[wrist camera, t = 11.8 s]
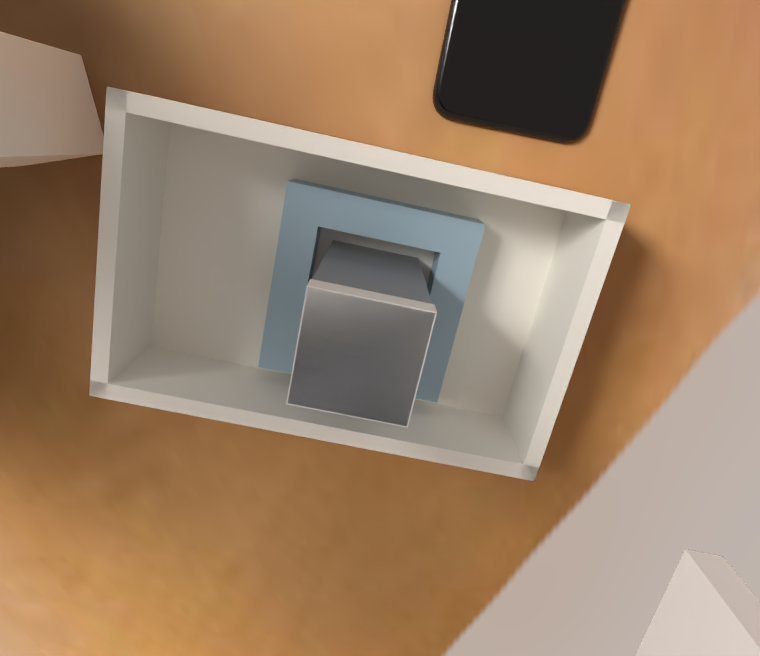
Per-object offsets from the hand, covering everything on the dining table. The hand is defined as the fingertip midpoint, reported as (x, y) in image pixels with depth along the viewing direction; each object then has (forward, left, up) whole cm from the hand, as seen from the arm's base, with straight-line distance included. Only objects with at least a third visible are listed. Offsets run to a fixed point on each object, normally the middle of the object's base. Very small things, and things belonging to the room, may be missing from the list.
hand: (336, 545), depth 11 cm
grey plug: (0, 0, -20) cm, 20 cm away
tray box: (-1, 0, -20) cm, 20 cm away
